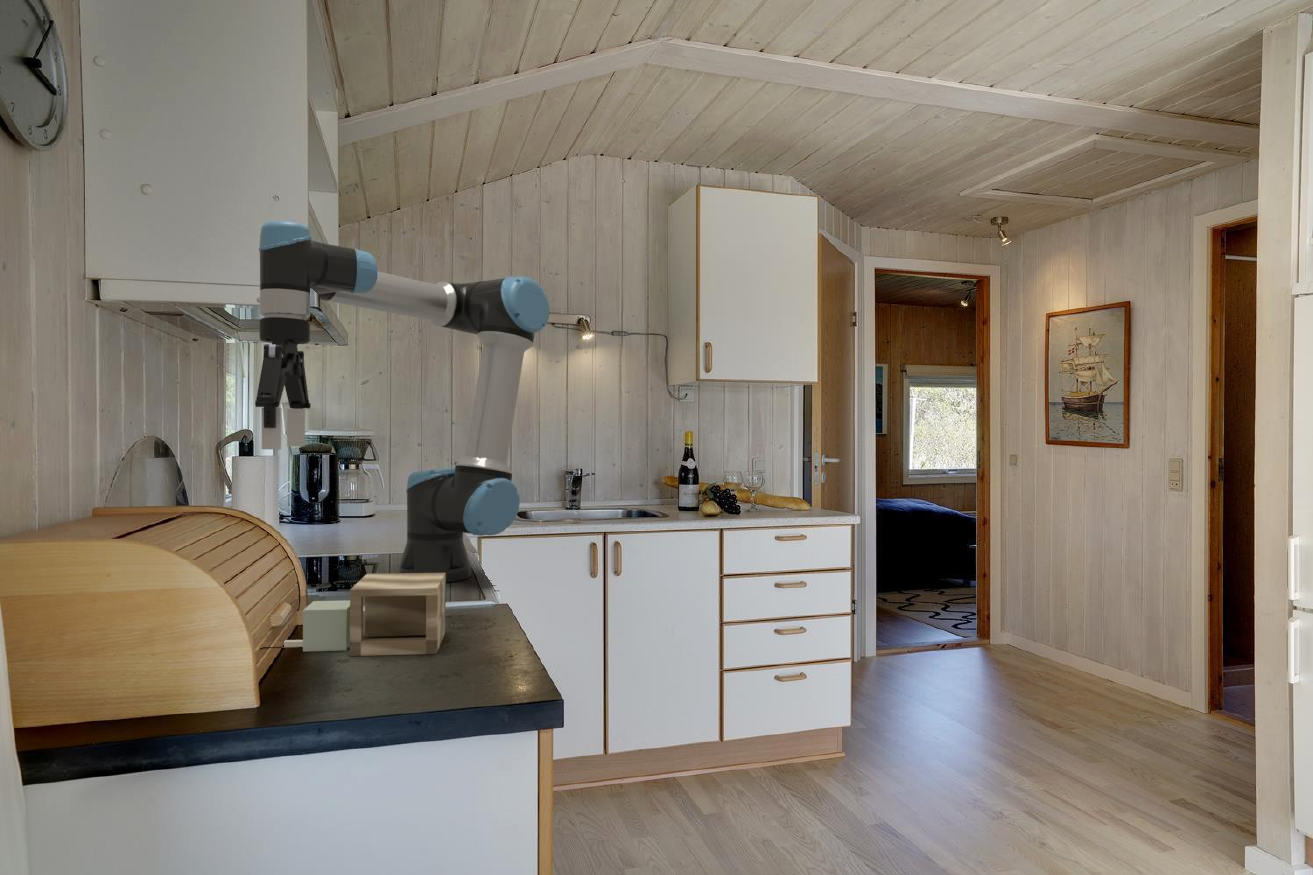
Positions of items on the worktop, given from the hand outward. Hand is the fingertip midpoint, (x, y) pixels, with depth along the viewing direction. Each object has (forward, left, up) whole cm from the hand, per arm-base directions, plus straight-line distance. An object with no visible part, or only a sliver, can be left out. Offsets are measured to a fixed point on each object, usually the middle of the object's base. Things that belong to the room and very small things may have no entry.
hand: (284, 448), depth 135 cm
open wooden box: (+16, +21, -29) cm, 39 cm away
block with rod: (+15, +6, -29) cm, 33 cm away
